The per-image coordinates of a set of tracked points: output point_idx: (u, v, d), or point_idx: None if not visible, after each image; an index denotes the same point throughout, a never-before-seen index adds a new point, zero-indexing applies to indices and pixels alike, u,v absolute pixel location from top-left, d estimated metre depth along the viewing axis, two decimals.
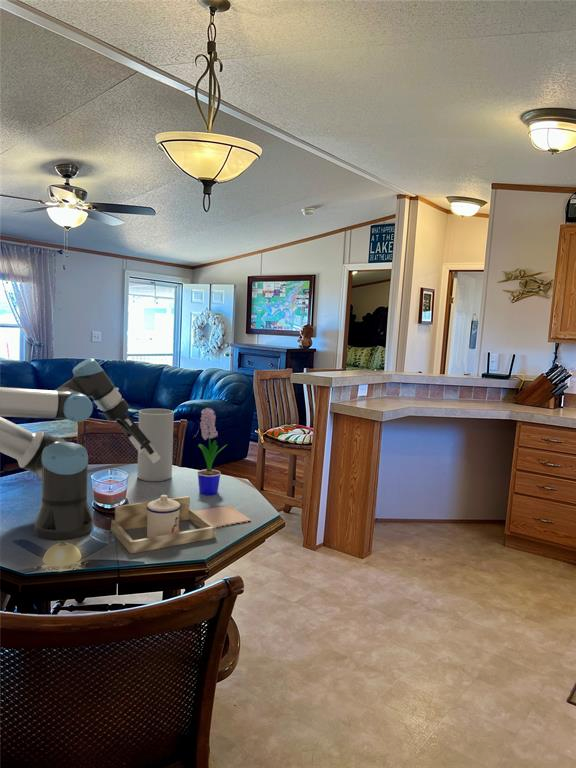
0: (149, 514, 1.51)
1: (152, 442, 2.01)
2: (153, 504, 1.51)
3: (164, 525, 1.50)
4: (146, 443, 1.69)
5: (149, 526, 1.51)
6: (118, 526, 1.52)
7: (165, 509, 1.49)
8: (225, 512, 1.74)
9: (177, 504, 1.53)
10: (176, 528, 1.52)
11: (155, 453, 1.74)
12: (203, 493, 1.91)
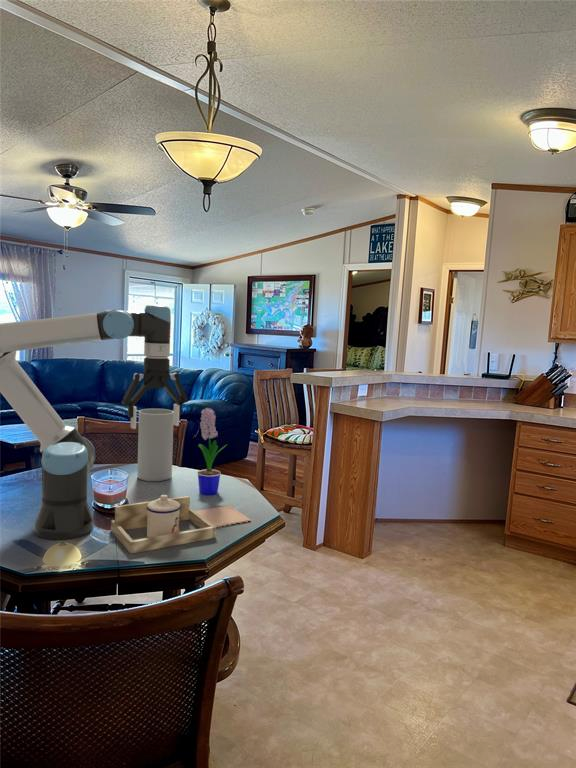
0: (149, 514, 1.51)
1: (152, 442, 2.01)
2: (153, 504, 1.51)
3: (164, 525, 1.50)
4: (123, 402, 1.64)
5: (149, 526, 1.51)
6: (118, 526, 1.52)
7: (165, 509, 1.49)
8: (225, 512, 1.74)
9: (177, 504, 1.53)
10: (176, 528, 1.52)
11: (133, 420, 1.65)
12: (203, 493, 1.91)
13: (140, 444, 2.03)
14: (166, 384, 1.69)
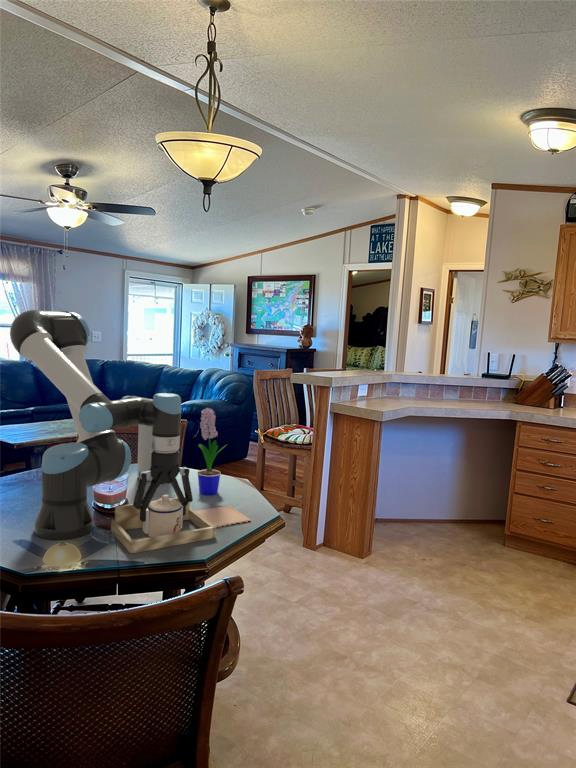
0: (151, 514, 1.51)
1: None
2: (155, 504, 1.51)
3: (166, 525, 1.50)
4: (134, 505, 1.50)
5: (151, 526, 1.51)
6: (118, 526, 1.52)
7: (167, 509, 1.50)
8: (225, 512, 1.74)
9: (179, 504, 1.53)
10: (178, 528, 1.53)
11: (145, 525, 1.51)
12: (203, 493, 1.91)
13: (140, 444, 2.03)
14: (174, 480, 1.54)
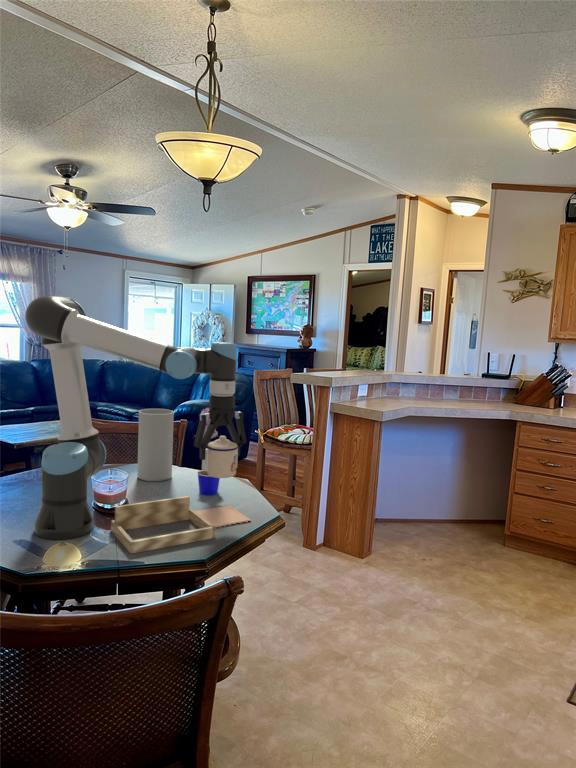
0: (210, 452, 1.64)
1: (152, 442, 2.01)
2: (213, 443, 1.64)
3: (224, 462, 1.63)
4: (195, 444, 1.63)
5: (210, 463, 1.64)
6: (118, 526, 1.52)
7: (225, 447, 1.62)
8: (225, 512, 1.74)
9: (235, 444, 1.66)
10: (234, 466, 1.65)
11: (205, 463, 1.64)
12: (203, 493, 1.91)
13: (140, 444, 2.03)
14: (230, 422, 1.66)
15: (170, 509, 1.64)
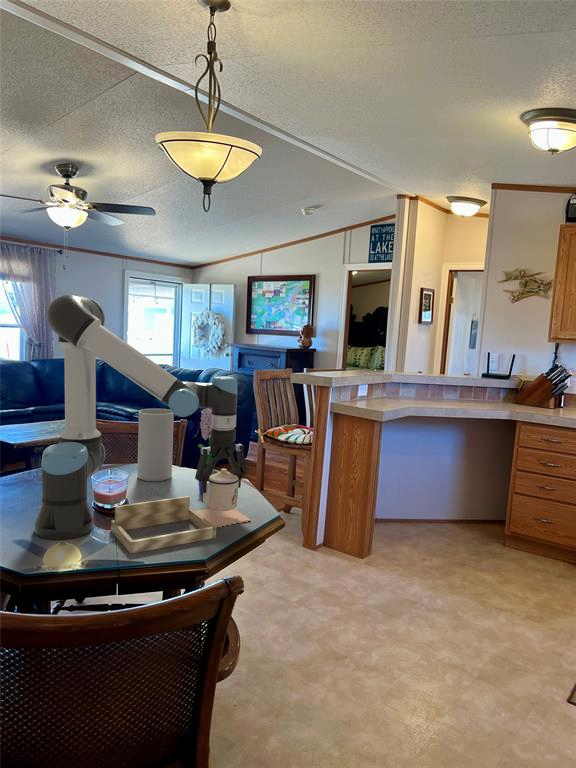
0: (211, 486, 1.66)
1: (152, 442, 2.01)
2: (214, 477, 1.66)
3: (225, 495, 1.65)
4: (197, 478, 1.65)
5: (211, 497, 1.66)
6: (118, 526, 1.52)
7: (226, 481, 1.64)
8: (225, 512, 1.74)
9: (236, 477, 1.68)
10: (235, 498, 1.68)
11: (206, 496, 1.66)
12: None
13: (140, 444, 2.03)
14: (231, 455, 1.68)
15: (170, 509, 1.64)
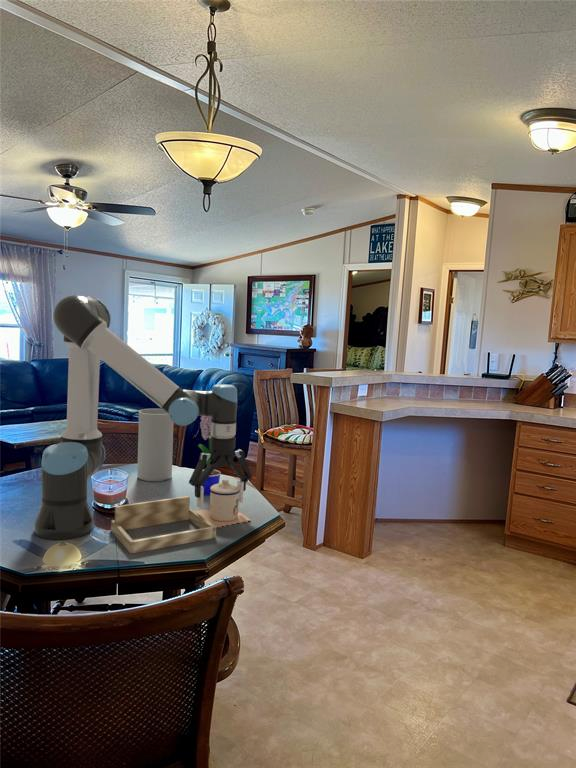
0: (213, 496, 1.66)
1: (152, 442, 2.01)
2: (216, 487, 1.67)
3: (227, 506, 1.66)
4: (190, 482, 1.64)
5: (213, 507, 1.67)
6: (118, 526, 1.52)
7: (228, 491, 1.65)
8: None
9: (237, 487, 1.69)
10: (236, 509, 1.68)
11: (200, 500, 1.65)
12: None
13: (140, 444, 2.03)
14: (232, 462, 1.69)
15: (170, 509, 1.64)
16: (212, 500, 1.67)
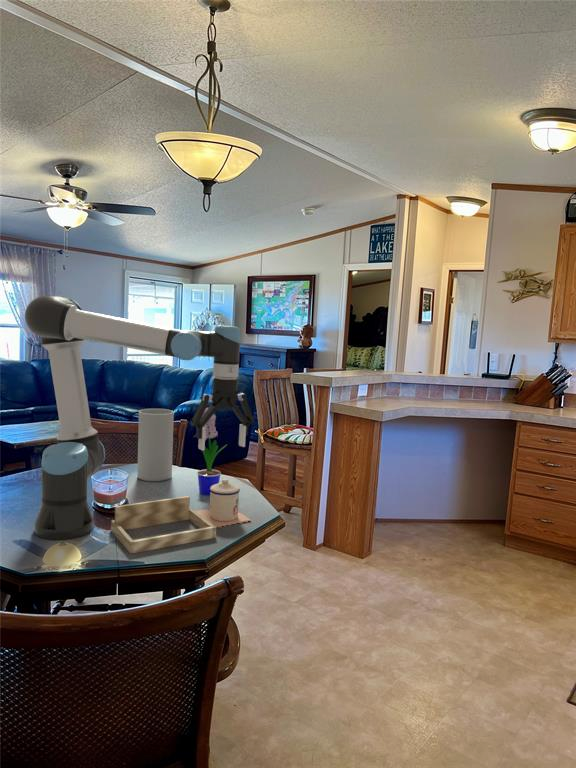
0: (213, 496, 1.66)
1: (152, 442, 2.01)
2: (216, 487, 1.67)
3: (227, 506, 1.66)
4: (192, 423, 1.62)
5: (212, 507, 1.67)
6: (118, 526, 1.52)
7: (228, 491, 1.65)
8: None
9: (237, 487, 1.69)
10: (236, 509, 1.68)
11: (201, 442, 1.63)
12: (203, 493, 1.91)
13: (140, 444, 2.03)
14: (234, 405, 1.67)
15: (170, 509, 1.64)
16: (212, 500, 1.67)
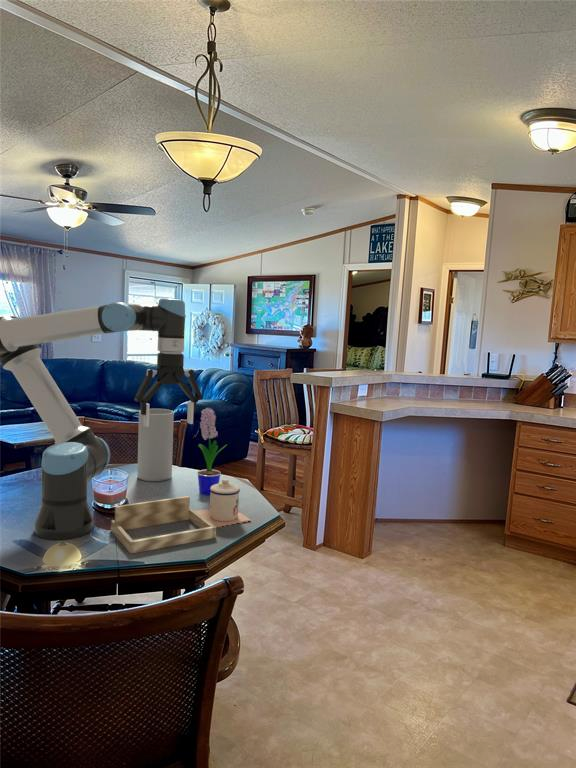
0: (213, 496, 1.66)
1: (152, 442, 2.01)
2: (216, 487, 1.67)
3: (227, 506, 1.66)
4: (135, 398, 1.58)
5: (213, 507, 1.67)
6: (118, 526, 1.52)
7: (228, 491, 1.65)
8: None
9: (237, 487, 1.69)
10: (236, 509, 1.68)
11: (146, 418, 1.59)
12: (203, 493, 1.91)
13: (140, 444, 2.03)
14: (180, 380, 1.63)
15: (170, 509, 1.64)
16: (212, 500, 1.67)
